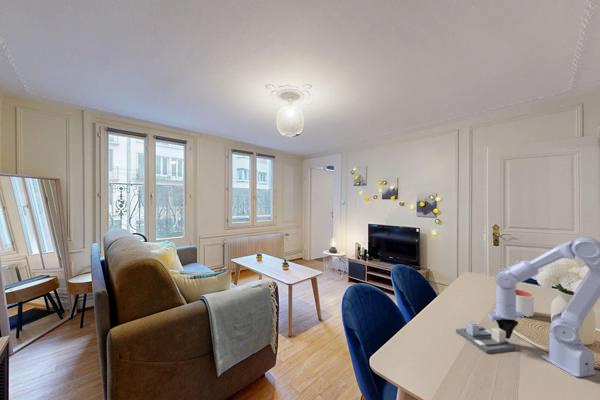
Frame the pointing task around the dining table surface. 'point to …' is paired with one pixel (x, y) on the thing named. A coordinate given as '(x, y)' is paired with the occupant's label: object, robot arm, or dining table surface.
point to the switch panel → (486, 341)
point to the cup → (524, 303)
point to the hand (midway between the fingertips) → (505, 337)
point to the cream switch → (498, 335)
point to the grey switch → (472, 328)
